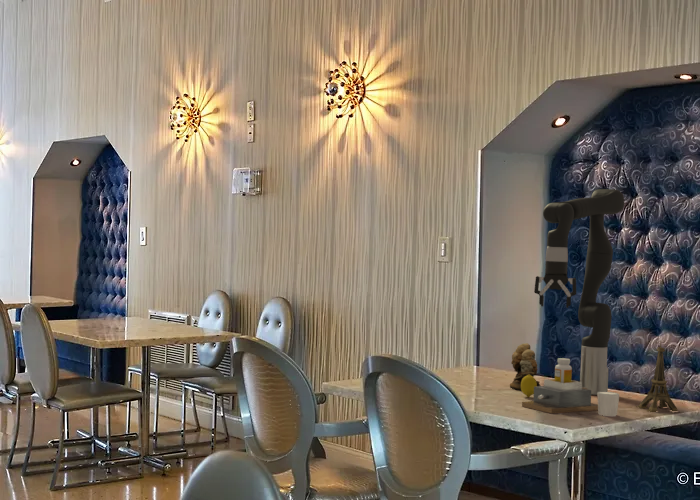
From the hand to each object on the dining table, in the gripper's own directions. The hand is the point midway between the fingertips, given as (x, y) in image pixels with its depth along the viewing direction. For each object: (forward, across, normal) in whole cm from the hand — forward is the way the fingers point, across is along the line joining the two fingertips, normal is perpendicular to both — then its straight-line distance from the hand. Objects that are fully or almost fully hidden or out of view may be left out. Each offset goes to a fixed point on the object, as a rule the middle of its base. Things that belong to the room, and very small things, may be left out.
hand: (554, 306), depth 343 cm
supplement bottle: (+26, -4, +18) cm, 32 cm away
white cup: (+32, -19, +25) cm, 45 cm away
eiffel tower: (+32, -35, +6) cm, 48 cm away
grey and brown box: (+32, -4, +18) cm, 37 cm away
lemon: (+32, +8, -1) cm, 33 cm away
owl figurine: (+32, +10, -23) cm, 41 cm away
